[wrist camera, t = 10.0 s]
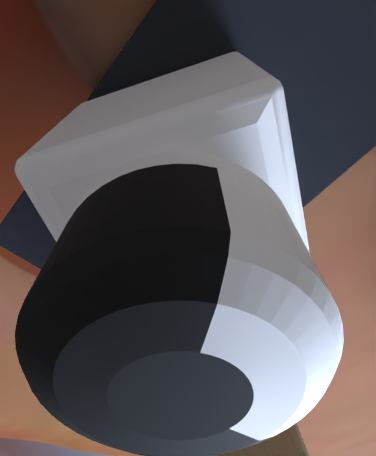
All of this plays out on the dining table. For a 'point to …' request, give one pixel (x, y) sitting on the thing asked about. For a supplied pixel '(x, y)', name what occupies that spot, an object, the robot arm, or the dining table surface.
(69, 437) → the dining table surface
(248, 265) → the medicine bottle
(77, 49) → the dining table surface
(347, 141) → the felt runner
